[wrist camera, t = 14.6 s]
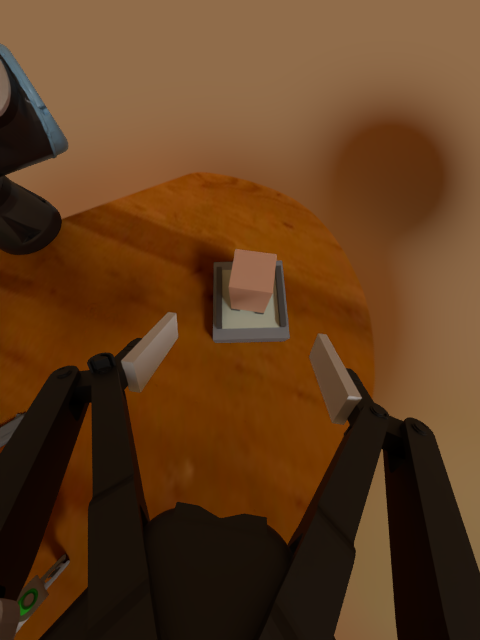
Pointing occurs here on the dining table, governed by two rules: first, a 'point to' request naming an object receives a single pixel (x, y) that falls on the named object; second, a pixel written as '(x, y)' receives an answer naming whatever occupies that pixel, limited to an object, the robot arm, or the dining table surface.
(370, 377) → the dining table surface
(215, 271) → the step
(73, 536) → the dining table surface
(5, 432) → the handgun
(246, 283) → the block
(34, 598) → the mechanical component
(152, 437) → the dining table surface
